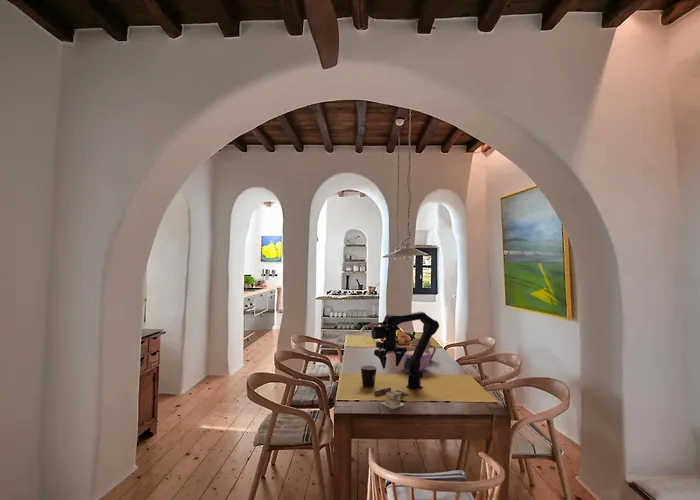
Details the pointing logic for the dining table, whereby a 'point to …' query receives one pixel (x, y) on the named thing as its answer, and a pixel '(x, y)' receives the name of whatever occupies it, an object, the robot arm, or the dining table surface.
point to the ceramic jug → (415, 343)
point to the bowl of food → (424, 358)
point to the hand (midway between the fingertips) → (390, 367)
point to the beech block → (393, 398)
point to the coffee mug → (368, 375)
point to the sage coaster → (392, 406)
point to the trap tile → (403, 393)
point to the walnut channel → (384, 390)
